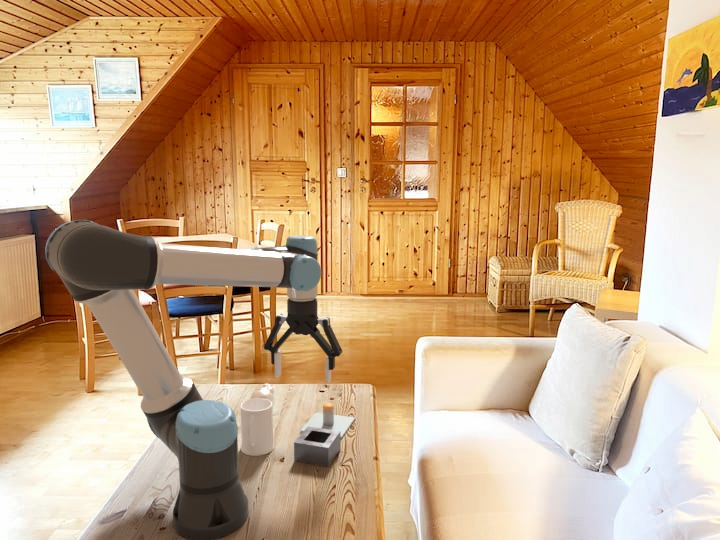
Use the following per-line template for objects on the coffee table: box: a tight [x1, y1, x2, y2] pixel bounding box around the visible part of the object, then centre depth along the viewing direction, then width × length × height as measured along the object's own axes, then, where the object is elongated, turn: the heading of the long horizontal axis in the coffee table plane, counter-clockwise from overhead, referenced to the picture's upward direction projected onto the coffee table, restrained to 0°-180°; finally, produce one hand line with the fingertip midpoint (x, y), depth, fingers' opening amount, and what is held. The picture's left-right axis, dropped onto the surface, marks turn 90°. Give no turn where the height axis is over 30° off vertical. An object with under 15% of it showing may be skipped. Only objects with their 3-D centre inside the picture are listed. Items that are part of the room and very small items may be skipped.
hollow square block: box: [293, 427, 341, 468], centre depth 138 cm, size 9×9×5 cm
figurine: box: [250, 383, 276, 409], centre depth 165 cm, size 11×7×15 cm
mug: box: [239, 398, 275, 457], centre depth 139 cm, size 12×8×12 cm
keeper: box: [300, 402, 356, 440], centre depth 153 cm, size 12×12×6 cm
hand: (302, 378), depth 140 cm, fingers open, 13 cm apart
